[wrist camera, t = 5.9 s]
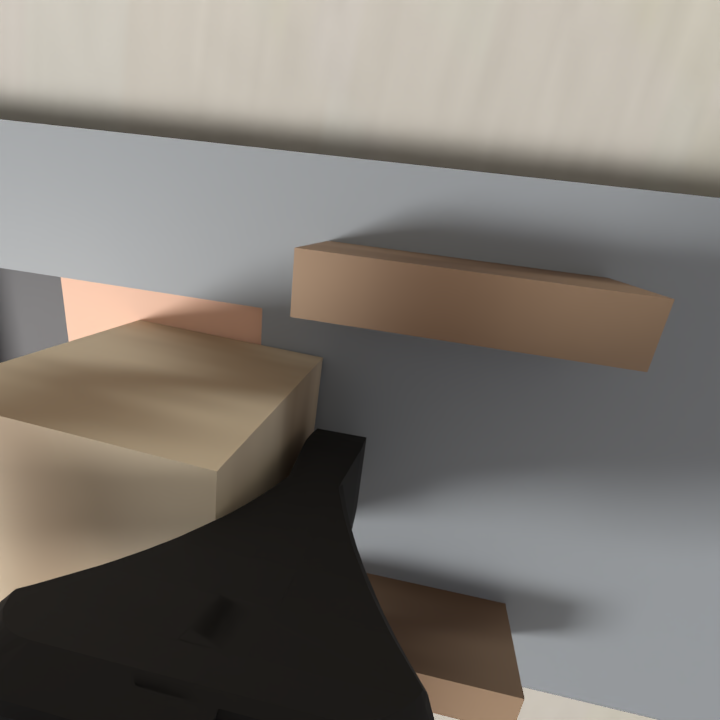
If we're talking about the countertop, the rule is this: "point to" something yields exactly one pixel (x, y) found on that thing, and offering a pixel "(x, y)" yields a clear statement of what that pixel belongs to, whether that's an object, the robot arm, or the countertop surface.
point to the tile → (153, 311)
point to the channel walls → (486, 329)
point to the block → (140, 442)
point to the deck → (441, 379)
